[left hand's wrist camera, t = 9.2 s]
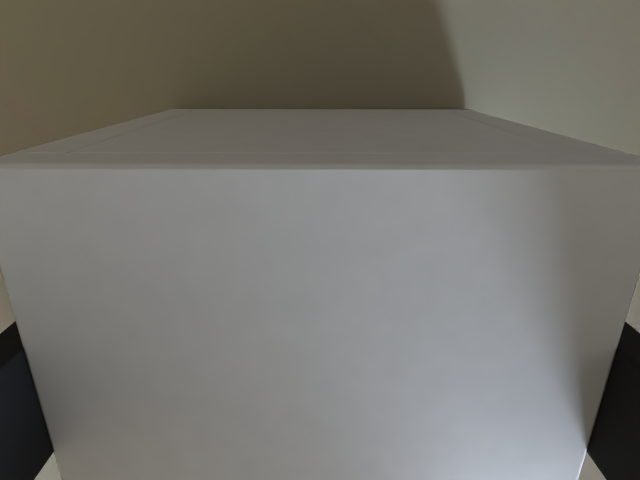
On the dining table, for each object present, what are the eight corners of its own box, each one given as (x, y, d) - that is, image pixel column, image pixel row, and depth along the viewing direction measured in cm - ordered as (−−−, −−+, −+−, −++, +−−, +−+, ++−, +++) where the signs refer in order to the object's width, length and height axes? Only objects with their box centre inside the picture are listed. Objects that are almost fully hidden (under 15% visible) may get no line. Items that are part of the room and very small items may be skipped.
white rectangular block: (423, 491, 25) (491, 774, 15) (215, 491, 24) (146, 773, 15) (469, 109, 17) (674, 165, 7) (170, 108, 17) (-34, 163, 7)
